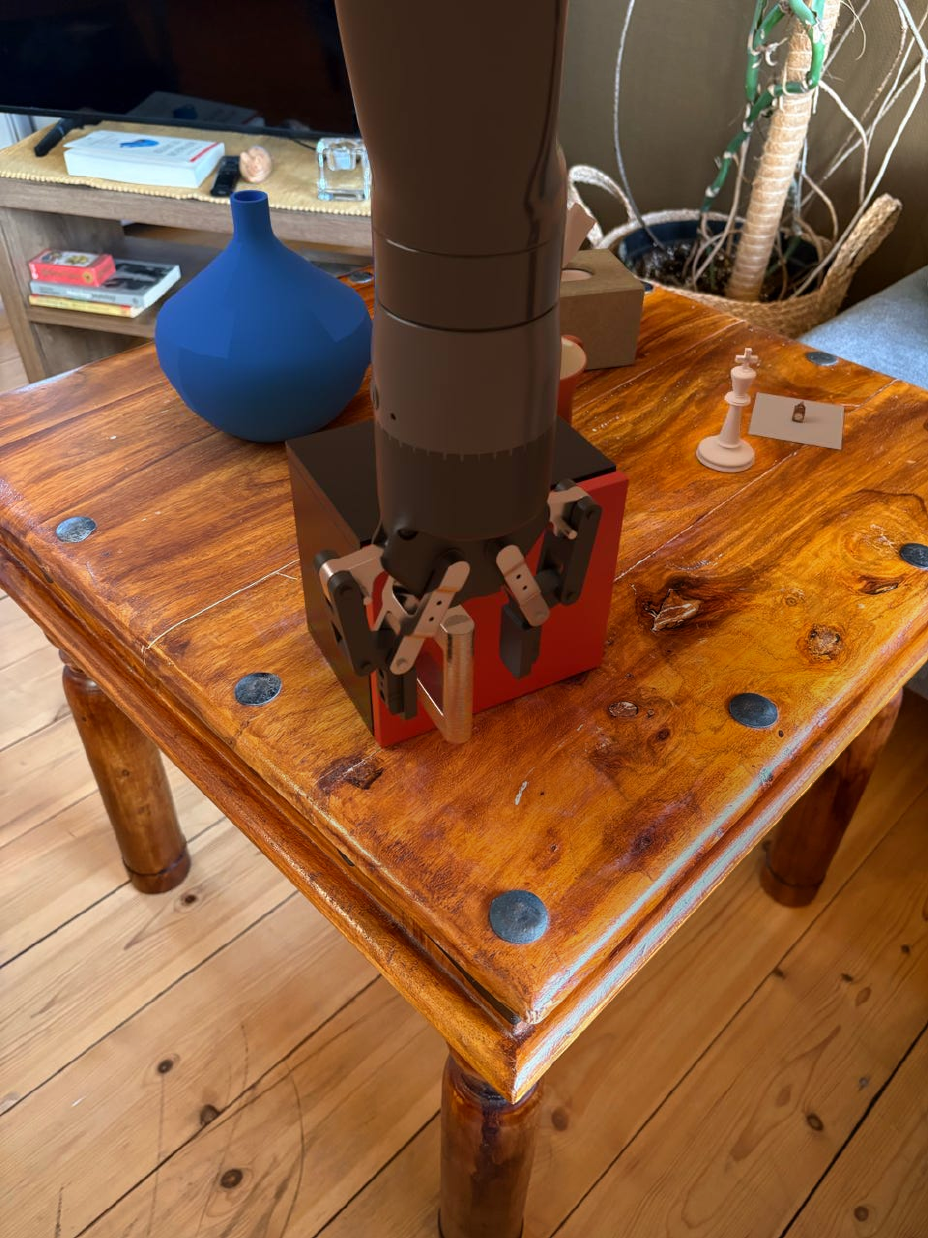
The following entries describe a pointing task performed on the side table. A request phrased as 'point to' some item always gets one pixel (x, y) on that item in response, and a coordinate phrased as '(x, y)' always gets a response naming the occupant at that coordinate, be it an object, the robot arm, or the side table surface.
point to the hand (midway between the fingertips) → (460, 687)
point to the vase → (264, 336)
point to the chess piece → (732, 424)
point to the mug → (570, 374)
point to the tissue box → (598, 298)
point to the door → (470, 633)
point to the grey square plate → (797, 420)
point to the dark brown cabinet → (372, 516)
